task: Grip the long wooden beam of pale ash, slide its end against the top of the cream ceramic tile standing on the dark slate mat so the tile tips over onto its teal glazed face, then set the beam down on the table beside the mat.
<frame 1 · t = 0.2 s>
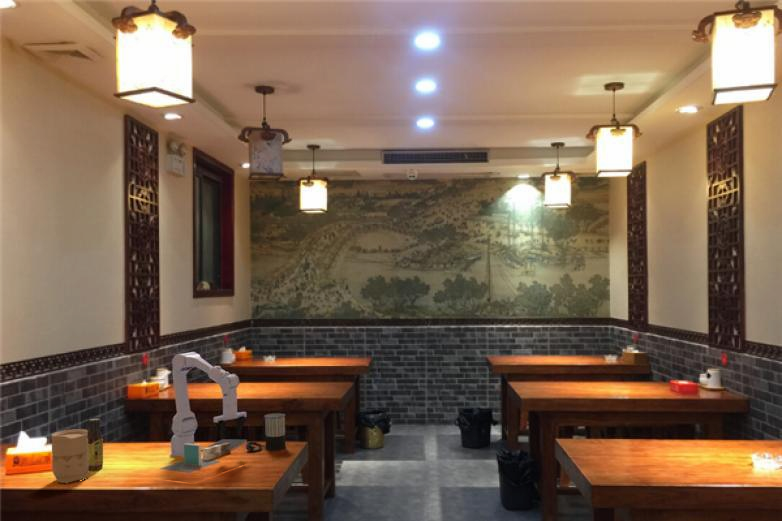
hand: (230, 437, 288), 10 cm above the table, tool pointing down, fingers open, 7 cm apart
tile: (192, 464, 281), point 1 cm above the table, touching slate mat
slate mat: (191, 466, 280), on the table
notebook: (225, 448, 312), on the table
long wooden beam: (216, 456, 293), on the table, touching slate mat
milk frother: (266, 450, 303), on the table
sauce bottle: (95, 469, 282), on the table
container: (70, 480, 267), on the table
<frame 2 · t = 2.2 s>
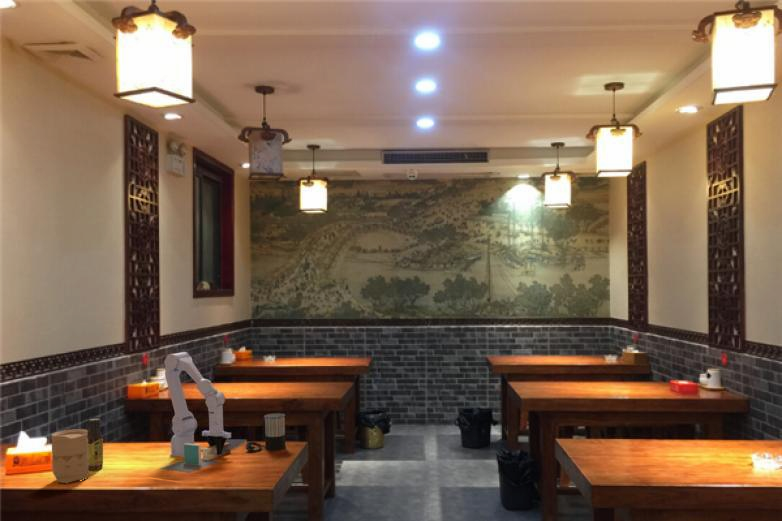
hand: (216, 454, 293), 1 cm above the table, tool pointing down, fingers closed on long wooden beam, 2 cm apart
long wooden beam: (216, 456, 293), on the table, touching gripper, slate mat
everything else where it was.
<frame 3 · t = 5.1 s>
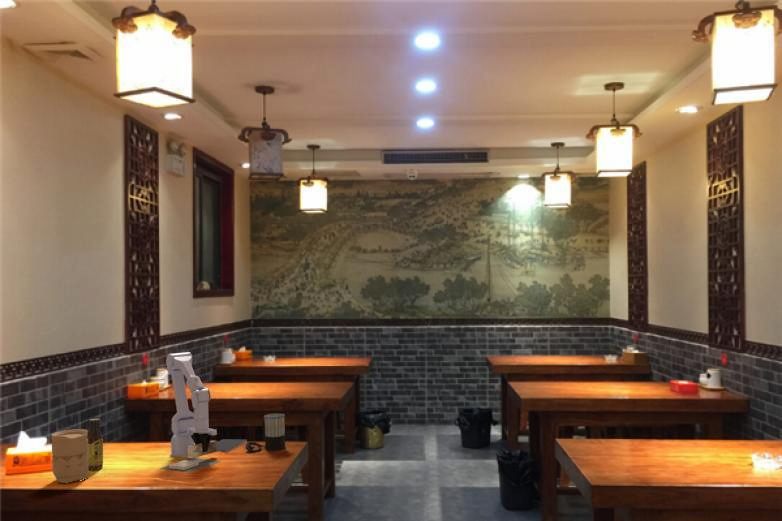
hand: (202, 451, 286), 4 cm above the table, tool pointing down, fingers closed on long wooden beam, 2 cm apart
tile: (191, 462, 280), point 1 cm above the table, tilted 90°, touching slate mat
long wooden beam: (202, 454, 286), point 3 cm above the table, touching gripper
everything else where it was.
when the fingers open (3 cm above the table, at t = 8.6 s): long wooden beam drops 1 cm, on the table.
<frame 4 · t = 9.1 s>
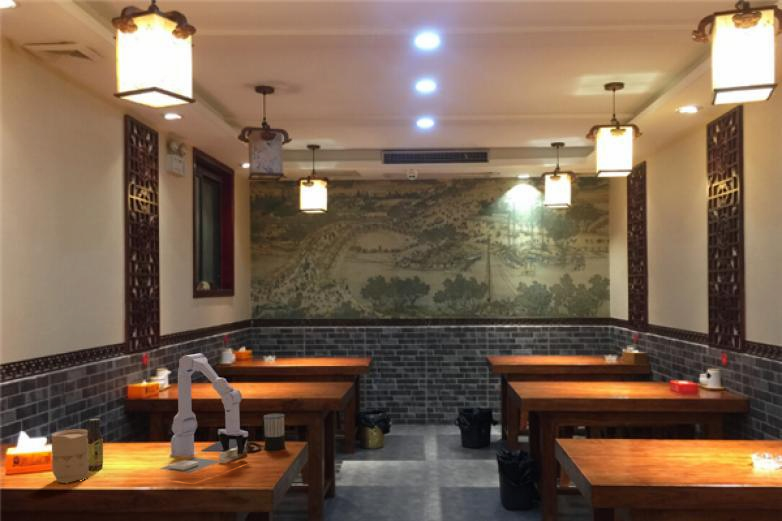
hand: (233, 453, 288), 3 cm above the table, tool pointing down, fingers open, 7 cm apart
long wooden beam: (233, 460, 288), on the table
everything else where it was.
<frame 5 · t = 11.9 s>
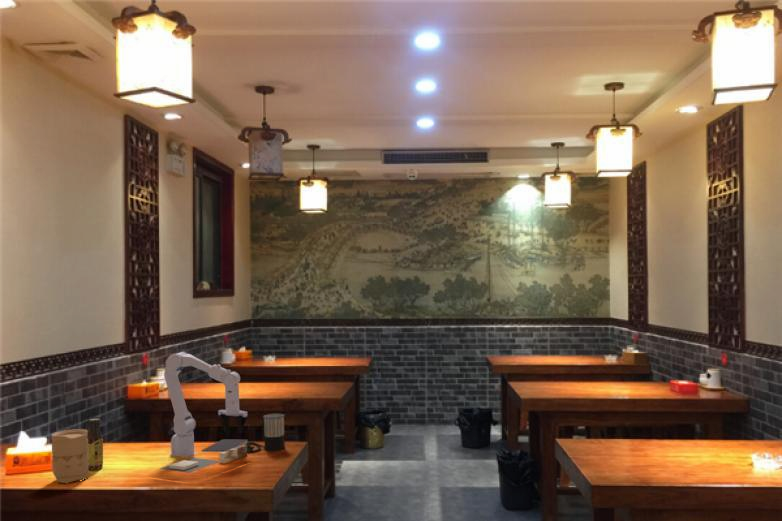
hand: (233, 432, 297), 9 cm above the table, tool pointing down, fingers open, 7 cm apart
nothing on the table moved.
at the end: tile tilted 90°; tile inside the target area on the slate mat (1.1 cm from its centre), point 1.5 cm above the slate mat's base; long wooden beam inside the target area (0.1 cm from its centre), on the table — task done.
